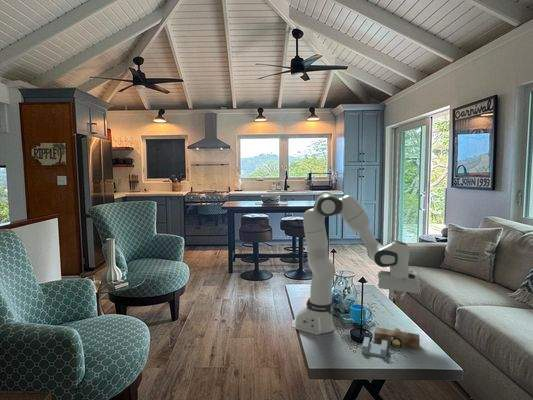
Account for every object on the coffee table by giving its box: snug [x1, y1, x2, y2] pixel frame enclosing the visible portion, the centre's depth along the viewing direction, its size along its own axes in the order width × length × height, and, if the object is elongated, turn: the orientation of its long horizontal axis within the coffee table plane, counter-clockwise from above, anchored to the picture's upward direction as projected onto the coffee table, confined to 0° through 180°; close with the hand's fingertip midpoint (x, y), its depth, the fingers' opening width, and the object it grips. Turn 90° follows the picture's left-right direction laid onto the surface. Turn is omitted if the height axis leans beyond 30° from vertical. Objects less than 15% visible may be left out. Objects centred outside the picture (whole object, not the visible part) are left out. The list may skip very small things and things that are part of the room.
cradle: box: [361, 336, 388, 359], centre depth 159 cm, size 10×9×4 cm
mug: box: [349, 303, 373, 325], centre depth 191 cm, size 12×8×8 cm
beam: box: [373, 326, 421, 351], centre depth 166 cm, size 20×6×5 cm, turn 67°
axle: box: [391, 328, 402, 349], centre depth 168 cm, size 4×14×4 cm, turn 157°
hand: (398, 298), depth 178 cm, fingers open, 2 cm apart
